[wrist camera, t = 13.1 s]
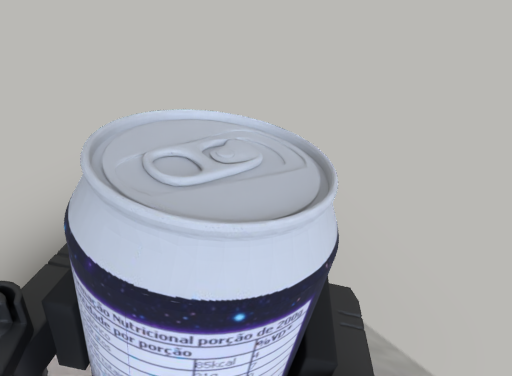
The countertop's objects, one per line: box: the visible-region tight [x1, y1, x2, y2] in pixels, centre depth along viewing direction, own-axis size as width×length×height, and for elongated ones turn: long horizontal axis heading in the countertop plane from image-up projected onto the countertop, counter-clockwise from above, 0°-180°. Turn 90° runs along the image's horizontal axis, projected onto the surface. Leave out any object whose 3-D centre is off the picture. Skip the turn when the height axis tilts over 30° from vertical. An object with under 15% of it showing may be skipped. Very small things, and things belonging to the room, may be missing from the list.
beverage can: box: [64, 109, 339, 376], centre depth 9 cm, size 6×6×12 cm
